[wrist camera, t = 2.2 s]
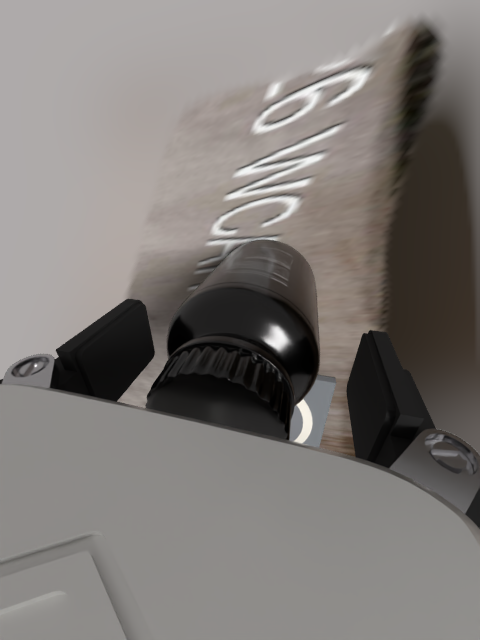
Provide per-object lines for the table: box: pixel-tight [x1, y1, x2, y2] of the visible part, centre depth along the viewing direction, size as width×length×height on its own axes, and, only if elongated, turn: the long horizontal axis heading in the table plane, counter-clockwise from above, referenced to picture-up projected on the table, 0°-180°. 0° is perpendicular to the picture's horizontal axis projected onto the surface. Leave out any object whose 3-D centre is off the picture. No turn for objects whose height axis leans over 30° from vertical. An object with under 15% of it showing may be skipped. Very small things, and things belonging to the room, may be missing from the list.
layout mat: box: [289, 375, 336, 448], centre depth 25 cm, size 16×12×1 cm
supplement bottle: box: [146, 240, 320, 440], centre depth 13 cm, size 7×7×12 cm
